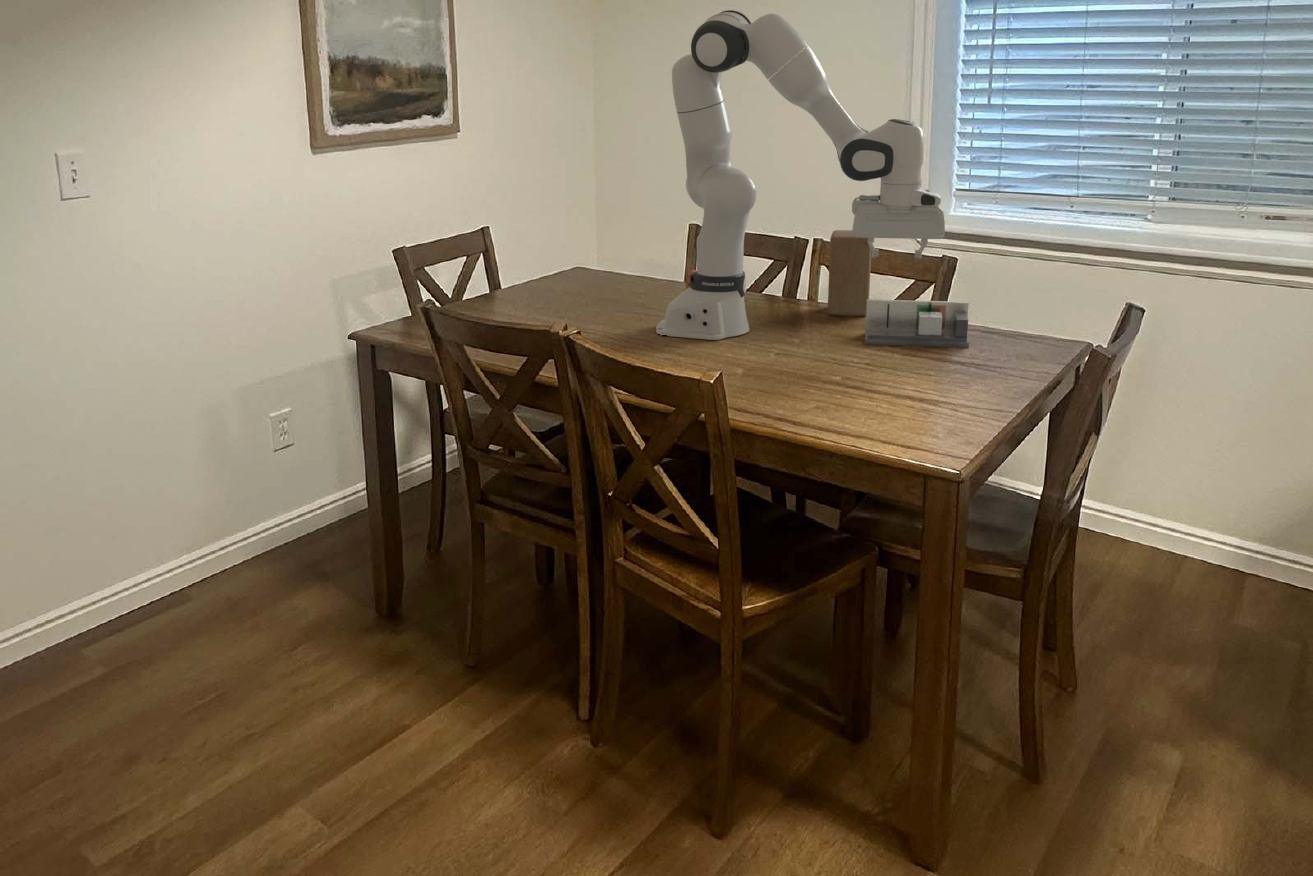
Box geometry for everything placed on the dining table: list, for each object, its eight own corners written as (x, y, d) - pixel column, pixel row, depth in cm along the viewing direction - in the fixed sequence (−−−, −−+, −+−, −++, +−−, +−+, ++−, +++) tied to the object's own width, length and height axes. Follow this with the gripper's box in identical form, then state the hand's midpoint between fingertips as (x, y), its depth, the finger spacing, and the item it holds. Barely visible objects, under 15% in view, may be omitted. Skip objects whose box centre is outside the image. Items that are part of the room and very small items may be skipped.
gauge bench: (864, 344, 257) (866, 309, 254) (865, 333, 266) (866, 299, 263) (968, 347, 253) (971, 311, 250) (965, 335, 262) (968, 301, 259)
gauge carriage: (918, 338, 255) (920, 310, 253) (917, 330, 261) (919, 303, 259) (940, 339, 254) (942, 311, 252) (939, 331, 260) (941, 304, 258)
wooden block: (867, 317, 280) (871, 237, 273) (827, 316, 282) (830, 236, 275) (868, 307, 290) (872, 229, 283) (829, 306, 291) (832, 229, 284)
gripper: (852, 197, 247) (849, 259, 252) (947, 198, 243) (943, 261, 248) (852, 192, 253) (850, 254, 258) (946, 194, 249) (941, 256, 254)
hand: (896, 257), depth 253 cm, fingers open, 8 cm apart
